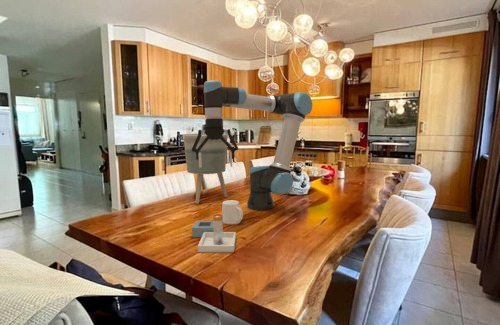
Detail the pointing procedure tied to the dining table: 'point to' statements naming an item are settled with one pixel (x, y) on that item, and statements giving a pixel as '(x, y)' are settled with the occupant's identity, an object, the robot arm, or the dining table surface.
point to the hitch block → (202, 227)
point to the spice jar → (218, 229)
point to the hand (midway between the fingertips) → (215, 166)
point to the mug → (231, 212)
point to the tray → (208, 245)
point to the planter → (206, 160)
